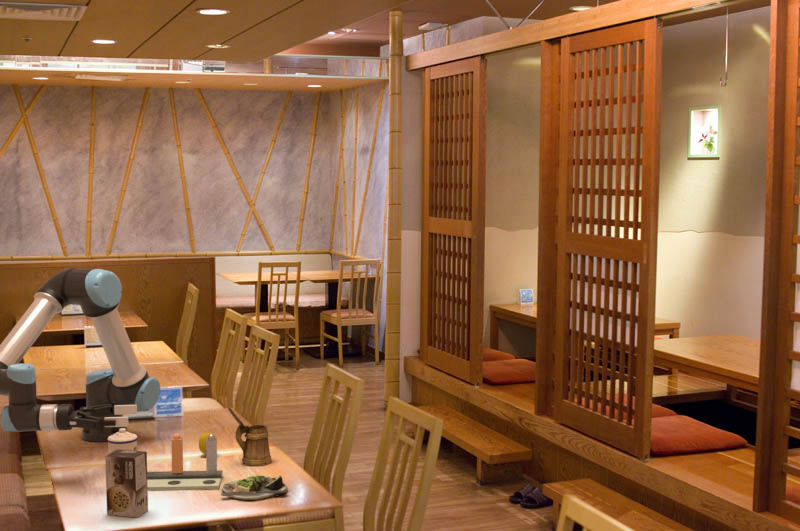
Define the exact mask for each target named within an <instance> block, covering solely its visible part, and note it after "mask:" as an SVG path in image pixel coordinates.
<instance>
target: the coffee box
mask: <svg viewBox="0 0 800 531" xmlns="http://www.w3.org/2000/svg"><path fill="white" fill-rule="evenodd" d="M104 459H105V461H104V464H105V465H104V466H105V487H106V488H105V490H106V515H107V514H108V515H107V516H115V515H117V516H118V517H128V518H129V517H130V518H138V517H140V516H141V515H143V514H145V513H146V512H148V511H149V498H148V497H149V496H148V488H147V472H148V452H147V451H144V450H141V451H140V450H137V451H132V450H115V451H113V452H112V453H110V454H108V453H107V454H106V455H104Z"/></svg>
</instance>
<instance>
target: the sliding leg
mask: <svg viewBox="0 0 800 531" xmlns="http://www.w3.org/2000/svg"><path fill="white" fill-rule="evenodd" d="M183 438H184V437H183V436H182V435H181V433H179V432H178V433H175V434H174V435H173V436H172V438H171V471H172V473H182V471H184V452H183V451H184V447H183V446H184V444H183V442H184V441H183V440H184V439H183Z"/></svg>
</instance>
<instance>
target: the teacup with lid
mask: <svg viewBox="0 0 800 531" xmlns="http://www.w3.org/2000/svg"><path fill="white" fill-rule="evenodd" d="M138 438H139V437H138V436H137V434H135V433H132V432H129V431H128V432H127V431H126V429H125V428H121V429H119V432H117V433H115V434H114V435H111V436H109V437H108V439H107V441H106V442H107V455H108V454H110V453H112V452H113V451H115V450H132V451H138V440H139V439H138Z"/></svg>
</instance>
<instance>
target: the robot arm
mask: <svg viewBox="0 0 800 531" xmlns="http://www.w3.org/2000/svg"><path fill="white" fill-rule="evenodd" d="M122 286H123V285H122V283H121V279H120V278H119V276H117V274H115V273H114V272H113V271H110V270H106V269H102V268H94V269H92V268H91V269H90V268H77V267H70V268H69V267H68V268H64V269H62V270H60V271H59V272H57V273H55V274H54V275H52V276H51V277H50V278H48V279H47V280H46V281H45V282H44V283H43V284H42V285H41V286H40V287H39V289H38V290H37V291H36V292H35V294H34V296H33V299H34V300H33V302H32V303H31V305H30V306H29V307H28V308H27V309H26V310H25V312H24V313H23V314H22V316H21V317H20V318H19V319H18V321H17V322H16V323H15V325H14V326H13V328H12V329H11V330H10V331H9V332H8V334H7V335H6V337H5V338H4V339H3V341H1V343H0V396H4V397H5V396H6V397H8V405H5V406H3V407H2V409H1V411H0V425H1V426H0V427H1V428H2V429H3V431H6V432H18V433H21V432H39V431H41V432H42V431H43V432H45V431H46V432H47V433H51V431H57V430H58V431H71V430H72V429H73V428H80V429H81V439H82V440H84V441H88V442H97V443H98V442H101V443H102V442H108V441H107V439H108V437H109V436H111V435H114V434H115V433H117V432H119V429H121V428H125V429H126V431H127V432H129V431H128V429H129V428H128V427H129V416H124V415H137V414H138V412H148V411H151V410H152V409H153V408H154V407H155V406H156V405H157V403H158V401H159V397H160V395H161V383H160V381H159V380H158V379H157V378H156V377H153V376H149V373H148V370H147V368H146V367H145V366H144V365H143V364H140V363H139V359H138V358H137V355H136V353H135V350H134V347H133V346H132V342H131V340H130V337H129V335H128V333H127V330H126V327H125V325H124V322H123V320H122V317H121V315H120V313H119V310H118V307H119V306H120V303H121V302H120V301H121V299H122V295H123V294H122V291H123V287H122ZM70 305H73V306H79V307H80V309H81V311H82V313H83V315H84V317H86V318H89V319H91V322H92V324H93V327H94V329H95V331H96V334H97V336H98V338H99V341H100V343H101V346H102V348H103V352H104V353H105V356H106V359H107V361H108V363H109V365H110V368H105V369H104V368H103V369H98V370H94V371H90V372H88V373H87V375H86V377H85V399H86V400H85V403H86V406H80V407H79V409H77V410H75V409H74V405H73V404H72V403H60V404H57V403H56V404H55V403H54V404H37V377H36V368H35V366H34V365H33V364H32V363H27V362H26V363H20V362H21V361H22V360H23V358H24V357H25V355H26V354H27V353H28V351H29V350H30V348H31V347H32V346H33V344H34V343H35V342H36V341H37V339H38V338H39V337H40V335H42V333H43V331H44V330H45V328H46V327H47V326H48V324H49V323H50V322H51V321H52V319H53V318H54V316H55V315H58V314H60V313H61V312H62V311H63V310H64V309H65V308H66V307H68V306H70Z"/></svg>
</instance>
